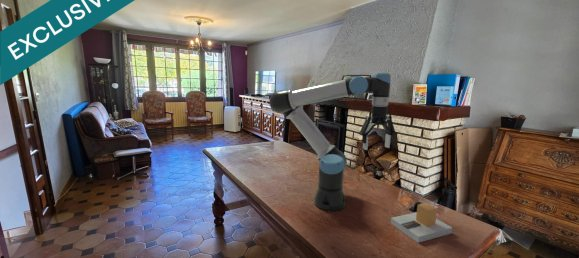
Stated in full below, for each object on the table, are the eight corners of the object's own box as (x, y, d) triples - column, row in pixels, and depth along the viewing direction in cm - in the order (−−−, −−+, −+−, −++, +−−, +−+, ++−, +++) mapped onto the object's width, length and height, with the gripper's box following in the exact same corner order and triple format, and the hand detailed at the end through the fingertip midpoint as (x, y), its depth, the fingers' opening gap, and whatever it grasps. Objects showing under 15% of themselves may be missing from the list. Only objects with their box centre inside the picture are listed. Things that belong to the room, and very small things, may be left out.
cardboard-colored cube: (426, 226, 99) (428, 210, 98) (415, 220, 104) (417, 204, 103) (435, 224, 101) (437, 208, 100) (424, 218, 106) (426, 202, 104)
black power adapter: (437, 216, 113) (438, 207, 112) (429, 221, 109) (430, 211, 108) (410, 205, 123) (411, 196, 122) (402, 209, 119) (403, 200, 118)
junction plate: (417, 243, 93) (419, 222, 91) (390, 223, 106) (391, 204, 104) (451, 233, 99) (454, 213, 98) (422, 215, 112) (424, 198, 111)
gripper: (363, 106, 112) (360, 152, 116) (405, 106, 121) (401, 148, 125) (353, 105, 119) (350, 148, 123) (394, 104, 128) (390, 144, 132)
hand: (376, 148), depth 124 cm, fingers open, 13 cm apart
